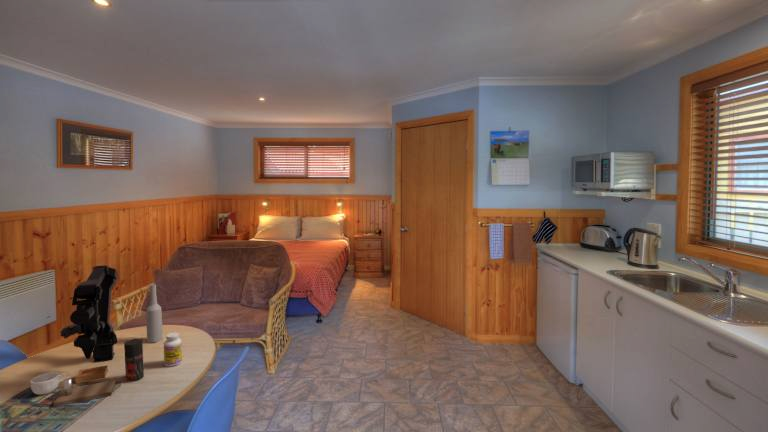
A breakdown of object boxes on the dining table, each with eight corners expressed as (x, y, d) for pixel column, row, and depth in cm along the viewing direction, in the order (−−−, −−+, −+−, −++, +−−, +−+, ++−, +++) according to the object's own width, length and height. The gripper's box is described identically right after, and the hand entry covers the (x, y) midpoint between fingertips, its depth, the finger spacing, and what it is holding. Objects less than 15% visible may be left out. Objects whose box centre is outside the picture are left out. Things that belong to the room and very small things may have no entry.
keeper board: (115, 383, 141) (115, 379, 141) (111, 395, 133) (111, 391, 133) (62, 393, 133) (61, 389, 133) (53, 407, 125) (53, 403, 125)
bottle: (150, 344, 175) (148, 287, 172) (144, 340, 178) (142, 285, 176) (165, 339, 180) (163, 284, 178) (158, 336, 184) (156, 282, 181)
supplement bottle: (163, 368, 153) (162, 338, 152) (165, 361, 159) (164, 332, 158) (181, 365, 155) (180, 336, 154) (182, 358, 161) (182, 330, 160)
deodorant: (147, 375, 147) (146, 339, 145) (132, 383, 141) (131, 346, 140) (136, 373, 149) (135, 337, 147) (122, 380, 143) (120, 343, 142)
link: (107, 371, 150) (107, 365, 149) (104, 378, 144) (104, 372, 144) (80, 376, 145) (79, 370, 145) (75, 383, 140) (75, 377, 140)
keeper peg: (73, 392, 132) (72, 377, 131) (71, 394, 130) (70, 380, 130) (66, 393, 131) (65, 378, 131) (64, 396, 129) (63, 381, 129)
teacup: (37, 399, 130) (36, 385, 129) (26, 394, 133) (25, 379, 132) (71, 385, 139) (70, 372, 138) (60, 380, 142) (59, 367, 141)
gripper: (69, 310, 147) (71, 347, 149) (54, 327, 131) (56, 368, 132) (103, 307, 152) (105, 342, 154) (93, 322, 136) (95, 362, 137)
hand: (91, 353), depth 144 cm, fingers open, 9 cm apart
